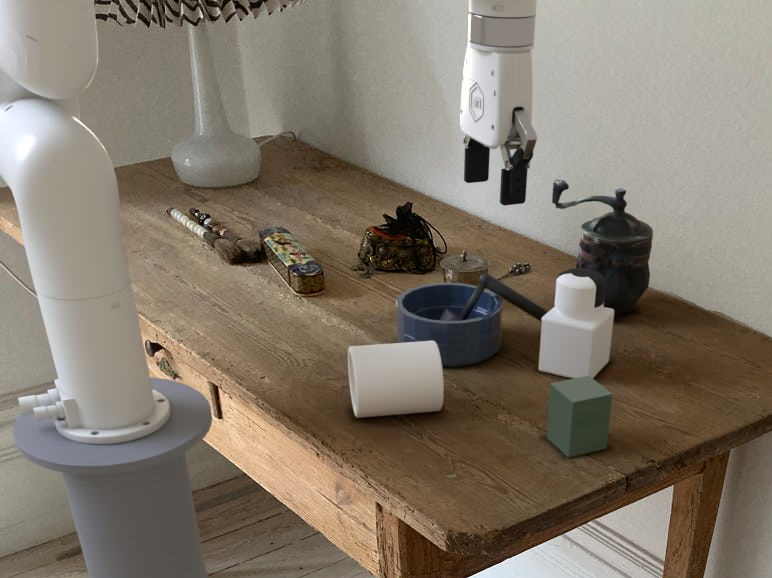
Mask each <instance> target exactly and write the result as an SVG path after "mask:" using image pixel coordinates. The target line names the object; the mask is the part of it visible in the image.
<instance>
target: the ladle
mask: <svg viewBox="0 0 772 578" xmlns="http://www.w3.org/2000/svg"><path fill="white" fill-rule="evenodd" d="M478 281H479V282H478V284H477V285H476V286H477V288H476V289H475V291H474V293H473V294H472V296H471V298H470V299H469V301H468V303H467V304H466V306H465V308H464V310H463V311H462V313H461V315H458V314H457V313H455V312H453V311H451V310H449V309H447V308H446V309H445V311H444V313H443V314H442V316H441V318H440V319H439V320H440V321H463V320H467V318H468V316H469V315H470V313H471V311H472V310H473V308H474V306H475V305H476V303H477V301H478V300H479V298H480V296H481V295H482V293H483V291H484V290H485V289H487V290H490V291H492V292H494V293H495V294H496V295H498V296H499V297H500V298H501V299H504V300H505V301H507V302H508V303H509V304H511V305H513V306H515V307H516V308H518V309H520V310H522V312H524V313H526V314H528V315H529V316H531V317H533V318H534V319H536V320H538V321H539V322H541V319H542V317H543V316H544V315H545V314H547V313H548V312H549V311H548V310H547V309H545V308H543V307H542V306H540V305H538V304H537V303H535V302H533V301H532V300H530V299H529V298H527V297H526V296H524V295H523V294H521V293H519V292H518V291H517V290H514V289H513V288H511V287H510V286H508V285H507V284H505V283H503V282H502V281H501V280H498V279H497V278H496V277H494V276H492V275H491V274H489V273H486V272H485V273H482V274H481V275H480V277H479V280H478Z"/></svg>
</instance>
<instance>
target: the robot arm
mask: <svg viewBox="0 0 772 578" xmlns="http://www.w3.org/2000/svg"><path fill="white" fill-rule="evenodd" d="M537 2H538V1H537V0H468V10H467V11H468V12H467V13H468V15H467V39H466V40H467V41H466V42H467V44H466V50H465V55H464V62H463V70H462V80H461V92H460V93H461V95H460V108H459V109H460V111H459V126H460V130H461V131H462V133H463V134H464V136H463V140H462V141H463V146H464V162H463V163H464V164H463V165H464V166H463V180H464V183H466V184H474V183H483V182H485V183H486V182H487V181H488V180H489V178H490V177H489V176H490V175H489V174H490V153H491V150H495V149H498V148H499V149H500V153H501V157H502V160H503V165H504V168H501V170H500V188H499V189H500V190H499V203H500V205H502V206H503V207H504V206H513V205H522V204H524V203H525V202H526V199H527V198H526V197H527V183H528V182H527V181H528V170H529V169H530V167H531V161H532V159H533V157H534V151H535V150H534V149H535V147H536V144H537V140H538V135H537V132H536V131H535V129H534V127H533V125H532V119H533V59H532V58H533V57H532V55H533V54H532V51H533V50H534V49H535V34H536V33H535V31H536V17H537V16H536V15H537ZM98 63H99V41H98V30H97V22H96V9H95V0H0V177H1V178H2V179H3V181H4V182H5V184H6V185H7V187H8V188H9V189H10V190H11V193H12V196H13V199H14V202H15V206H16V209H17V214H18V218H19V223H20V228H21V234H22V239H23V244H24V245H23V246H24V250H25V254H26V258H27V259H26V260H27V262H28V267H29V271H30V275H31V278H32V283H33V287H34V289H35V293H36V296H37V300H38V301H37V302H38V304H39V309H40V312H41V316H42V321H43V324H44V328H45V332H46V336H47V340H48V344H49V347H50V352H51V355H52V359H53V362H54V368H55V370H56V374H57V379H56V378H55V379H54V385H55V388H51V389H47V390H46V391H47V393H42V394H37V395H35V394H32V395H31V394H30V395H26V396H20V397H17V400H18V403H19V407H20V410H21V413H22V414H23V415H27V414H32V413H35V416H36V419H37V421H38V420H43V419H49V418H51V417H53V418H54V422H55V427H56V429H57V431H58V432H59V433H60V434H61V435H62V436H64V437H66V438H68V439H70V440H73V441H76V442H81V443H86V444H116V443H123V442H128V441H132V440H136V439H139V438H142V437H144V436H147V435H149V434H151V433H153V432H155V431H157V430H158V429H160V428H161V427H162V426H163V425H164V424H165V423H166V422H167V421H168V420H169V417H170V415H171V410H170V405H169V401H168V400H167V398H166V397H165V396H164V395H162V394H161V393H159V392H157V391H155V390H152V386H151V381H150V377H151V375H150V371H149V365H148V361H147V356H146V350H145V347H144V346H145V345H144V340H143V334H142V330H141V325H140V324H141V323H140V319H139V315H138V314H139V313H138V309H137V305H136V304H137V303H136V299H135V294H134V288H133V284H132V279H131V274H130V269H129V265H128V259H127V254H126V248H125V244H124V243H125V241H124V235H123V227H122V220H121V219H122V218H121V205H120V203H121V202H120V193H119V186H118V185H119V184H118V179H117V175H116V172H115V169H114V165H113V162H112V160H111V158H110V156H109V154H108V152H107V150H106V148H105V147H104V145H103V144H102V142H101V141H100V140H99V138H98V137H97V136H96V135H95V134H94V132H93V131H91V129H89V128H88V127H87V126H86V125H85V123H83V122H82V121H81V114H80V113H81V112H80V102H79V101H80V100H79V95H80V94H82V92H84V91H85V90H86V89H87V88H88V87H89V86H90V84H92V83H91V82H92V81H93V79H94V77H95V76H96V75H95V74H96V72H97V69H98ZM511 150H515V151H514V153H513V154H512V153H511Z"/></svg>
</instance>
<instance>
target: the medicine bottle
mask: <svg viewBox="0 0 772 578" xmlns="http://www.w3.org/2000/svg"><path fill="white" fill-rule="evenodd" d="M605 288H606V279H605V278H604V276H603V275H602V274H600V273H598V272H596V271H594V270H591V269H586V268H574V267H573V268H568V269H566V270H563V271H561V272H560V273H559V274H558V275H557V276H556V280H555V291H554V293H555V294H554V306H553V307H552V308H551V309H550V310H549V311H548V313H547V314H545V315H544V316H543V317H542V319H541V321H540V333H539V334H540V335H539V349H538V366H537V369H538V371H539V372H541V373H546V374H551V375H555V376H560V377H564V378H569V379H574V378H579V377H584V376H590V377H591V378H593V379H594V378H595V377H596V376H597V374H599V372H600V371H601V370H602V369H603V368H604V367H605V366H606V365H607V364H608V363H609V361H610V354H611V345H612V337H613V327H614V319H615V318H614V310H613V309H611V308H606V307H604V297H605Z"/></svg>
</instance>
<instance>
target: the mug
mask: <svg viewBox="0 0 772 578" xmlns="http://www.w3.org/2000/svg"><path fill="white" fill-rule="evenodd" d="M347 368H348V370H347V371H348V383H349V390H350V391H349V392H350V399H351V406H352V410H353V414H354V416H355V417H356V418H358V419H360V418H371V417H384V416H396V415H407V414H409V415H410V414H420V413H434V412H440V411H441V410H442V408H443V405H444V397H445V396H444V395H445V394H444V393H445V392H444V391H445V390H444V387H445V386H444V385H445V384H444V371H443V366H442V362H441V356H440V352H439V348H438V345H437V343H436V342H435V341H420V342H406V343H397V342H395V343H391V342H390V343H379V344H365V345H364V344H363V345H350V346H348V349H347Z"/></svg>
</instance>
